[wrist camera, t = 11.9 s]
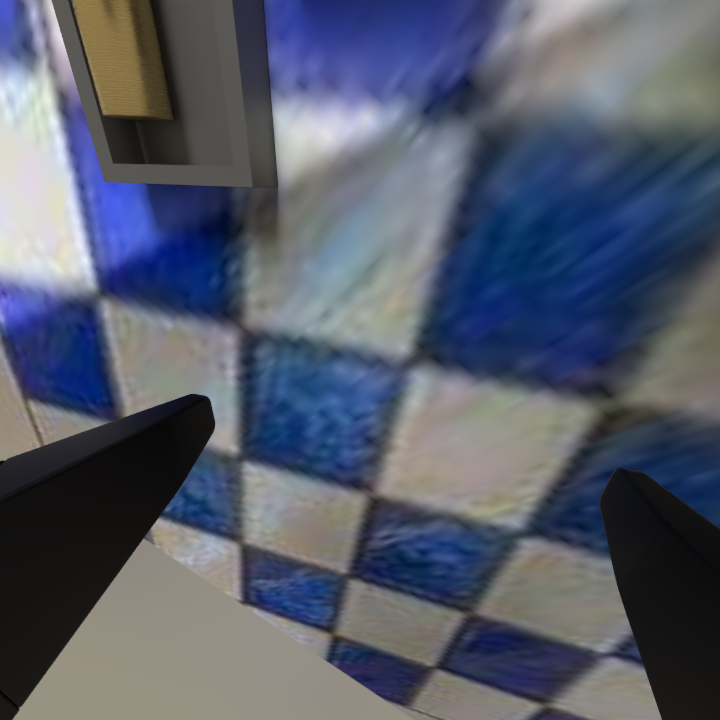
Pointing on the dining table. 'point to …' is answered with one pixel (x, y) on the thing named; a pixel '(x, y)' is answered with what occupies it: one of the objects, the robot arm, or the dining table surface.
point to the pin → (124, 59)
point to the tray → (190, 99)
